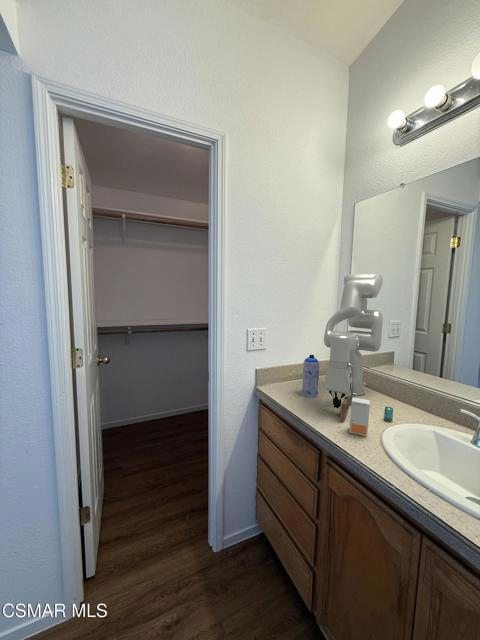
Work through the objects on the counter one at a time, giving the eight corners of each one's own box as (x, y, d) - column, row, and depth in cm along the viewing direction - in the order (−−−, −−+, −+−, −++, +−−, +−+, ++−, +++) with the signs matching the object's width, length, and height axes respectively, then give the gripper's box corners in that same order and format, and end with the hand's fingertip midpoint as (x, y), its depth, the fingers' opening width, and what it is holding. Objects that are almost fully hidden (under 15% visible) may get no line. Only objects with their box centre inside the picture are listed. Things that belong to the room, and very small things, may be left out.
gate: (347, 404, 123) (348, 389, 122) (350, 404, 122) (351, 390, 122) (340, 420, 107) (341, 403, 107) (344, 421, 107) (345, 404, 106)
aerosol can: (318, 398, 131) (320, 357, 129) (302, 396, 133) (303, 356, 131) (317, 392, 139) (319, 353, 137) (301, 391, 140) (303, 352, 138)
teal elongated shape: (349, 403, 126) (350, 382, 125) (393, 420, 109) (395, 396, 108) (345, 404, 124) (346, 383, 123) (389, 422, 107) (391, 397, 106)
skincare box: (349, 432, 99) (350, 400, 98) (350, 427, 103) (352, 396, 102) (367, 437, 96) (369, 404, 95) (368, 431, 100) (370, 400, 99)
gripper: (360, 365, 111) (358, 409, 113) (324, 359, 120) (322, 400, 122) (355, 369, 105) (352, 415, 107) (318, 363, 114) (316, 405, 116)
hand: (336, 407), depth 115 cm, fingers closed
